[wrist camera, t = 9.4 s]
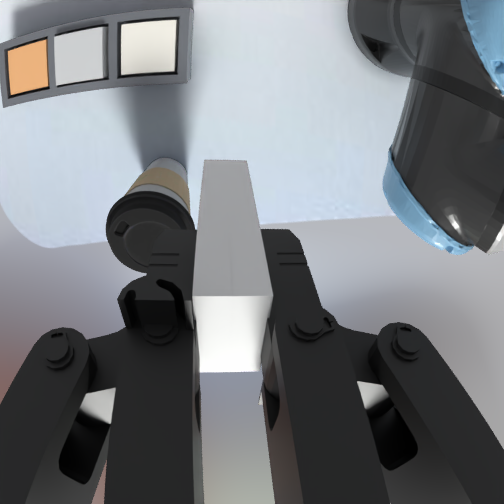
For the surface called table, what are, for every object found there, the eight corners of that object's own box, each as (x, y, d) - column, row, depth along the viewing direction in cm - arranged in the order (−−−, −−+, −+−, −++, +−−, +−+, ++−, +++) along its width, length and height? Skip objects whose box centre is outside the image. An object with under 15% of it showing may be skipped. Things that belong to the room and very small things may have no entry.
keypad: (193, 10, 29) (190, 7, 25) (190, 78, 34) (186, 83, 30) (16, 40, 26) (-2, 44, 22) (20, 99, 31) (3, 107, 28)
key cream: (178, 20, 28) (176, 19, 26) (176, 69, 31) (174, 71, 30) (126, 25, 27) (121, 24, 25) (126, 72, 31) (121, 74, 29)
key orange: (53, 38, 26) (46, 39, 24) (55, 83, 29) (48, 86, 28) (16, 49, 25) (7, 51, 23) (18, 91, 29) (10, 95, 27)
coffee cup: (135, 141, 38) (99, 195, 26) (206, 150, 40) (200, 208, 28) (131, 203, 44) (103, 273, 32) (195, 211, 46) (188, 284, 34)
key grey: (108, 27, 26) (102, 26, 24) (108, 75, 29) (102, 78, 28) (61, 36, 25) (54, 36, 23) (63, 82, 29) (56, 85, 27)
